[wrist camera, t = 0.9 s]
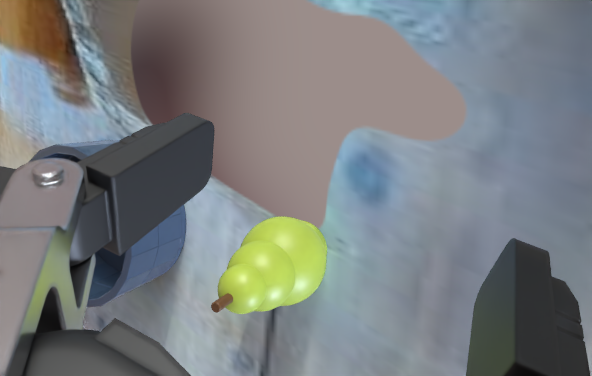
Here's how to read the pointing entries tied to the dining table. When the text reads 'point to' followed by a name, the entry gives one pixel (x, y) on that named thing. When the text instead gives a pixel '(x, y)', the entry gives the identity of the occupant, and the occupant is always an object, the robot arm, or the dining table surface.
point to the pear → (273, 267)
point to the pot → (137, 259)
